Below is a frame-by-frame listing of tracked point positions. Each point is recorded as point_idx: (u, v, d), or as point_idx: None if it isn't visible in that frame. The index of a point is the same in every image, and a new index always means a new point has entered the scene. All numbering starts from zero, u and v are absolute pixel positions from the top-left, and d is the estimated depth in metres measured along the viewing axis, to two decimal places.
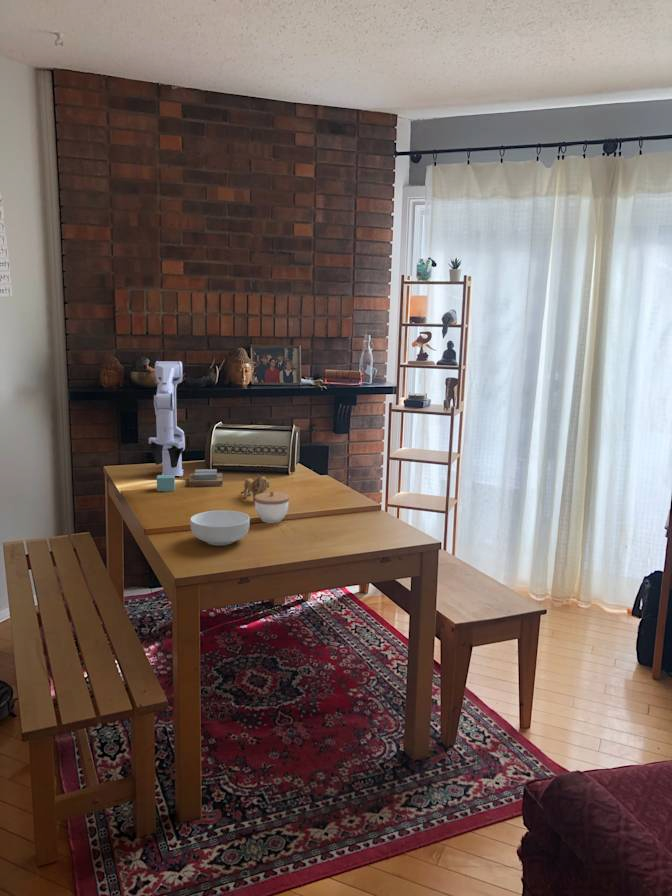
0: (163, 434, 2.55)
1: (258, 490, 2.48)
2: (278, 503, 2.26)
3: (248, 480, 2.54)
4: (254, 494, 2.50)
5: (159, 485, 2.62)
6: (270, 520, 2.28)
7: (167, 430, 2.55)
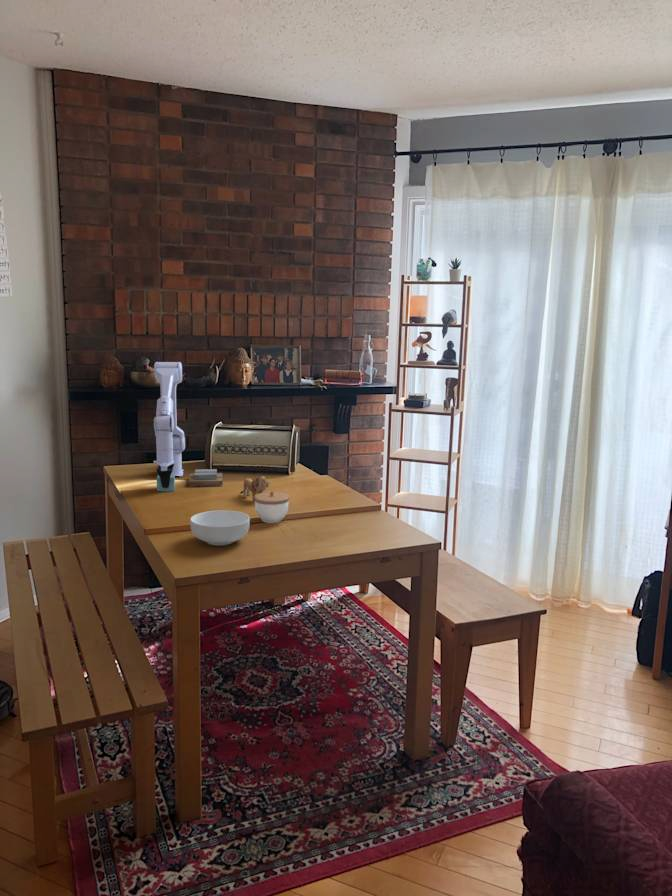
0: (157, 454, 2.60)
1: (257, 490, 2.49)
2: (278, 503, 2.26)
3: (247, 480, 2.55)
4: (253, 494, 2.50)
5: (159, 485, 2.62)
6: (270, 520, 2.28)
7: (160, 451, 2.59)
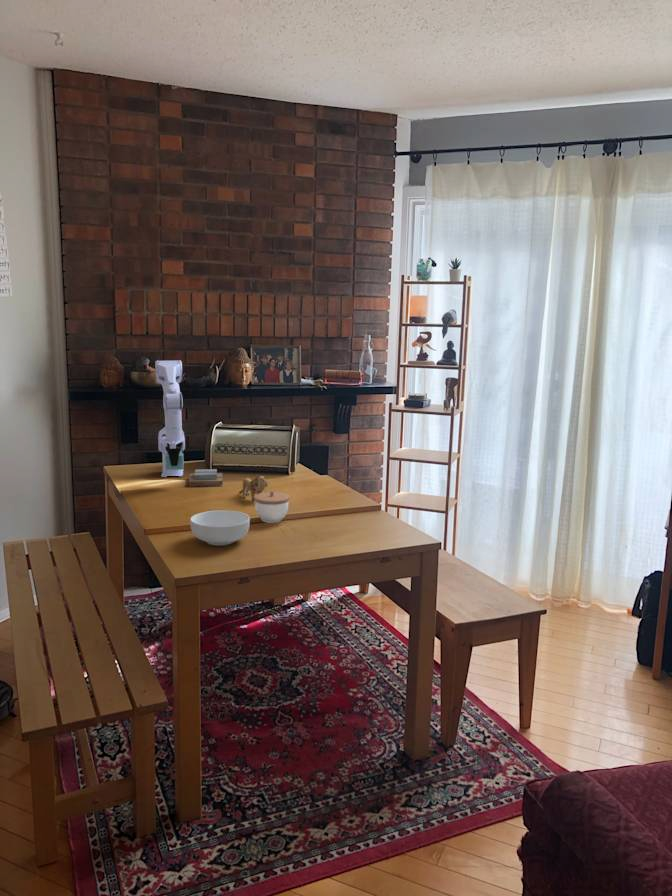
0: (166, 432, 2.61)
1: (256, 489, 2.49)
2: (278, 503, 2.26)
3: (246, 479, 2.55)
4: (252, 493, 2.51)
5: (167, 463, 2.63)
6: (270, 520, 2.28)
7: (169, 429, 2.60)
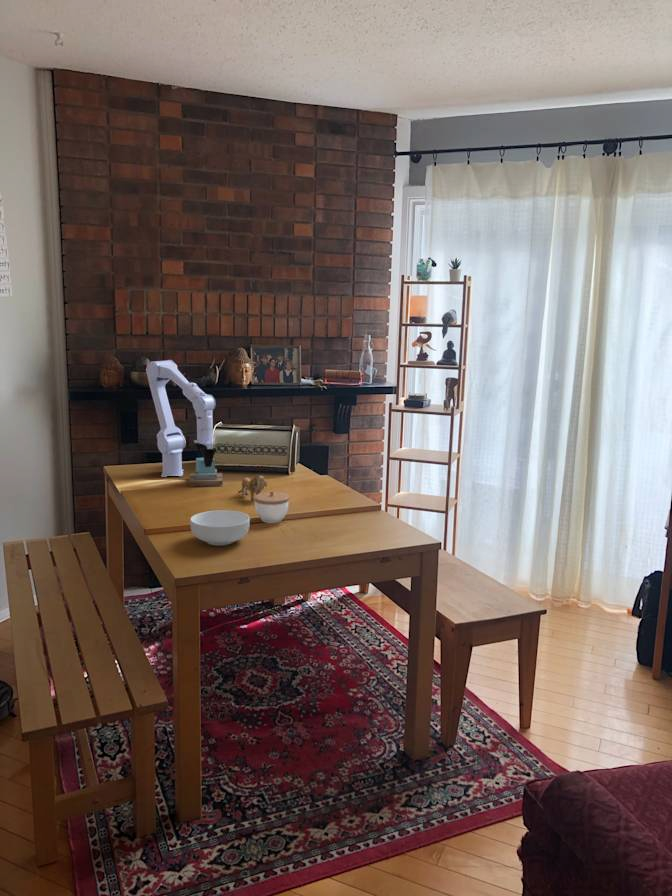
0: (199, 434, 2.69)
1: (256, 489, 2.50)
2: (278, 503, 2.26)
3: (246, 479, 2.55)
4: (252, 493, 2.51)
5: (200, 467, 2.72)
6: (270, 520, 2.28)
7: (203, 431, 2.69)
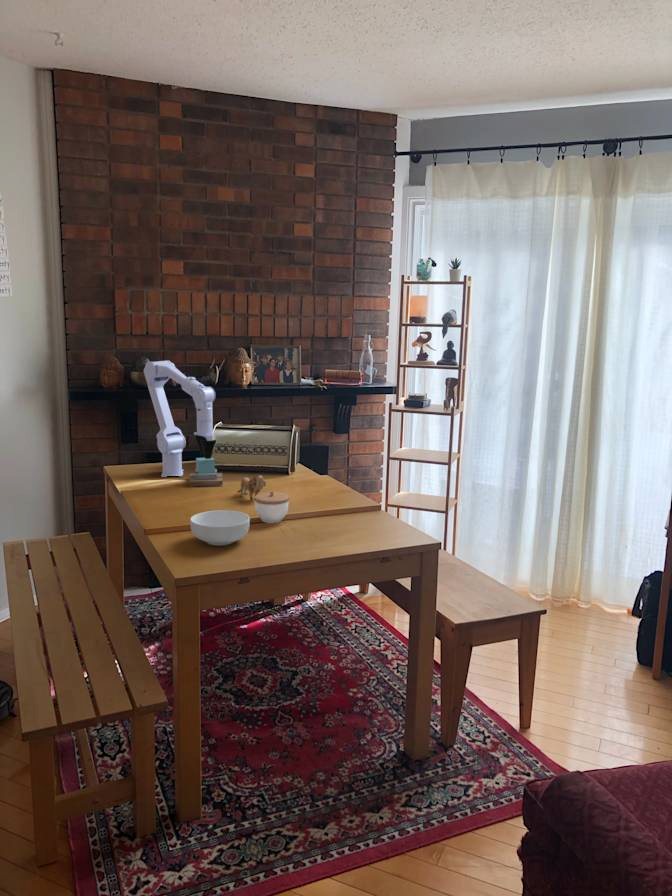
0: (199, 426, 2.69)
1: (255, 489, 2.50)
2: (278, 503, 2.26)
3: (245, 479, 2.56)
4: (251, 493, 2.52)
5: (200, 467, 2.72)
6: (270, 520, 2.28)
7: (202, 422, 2.68)
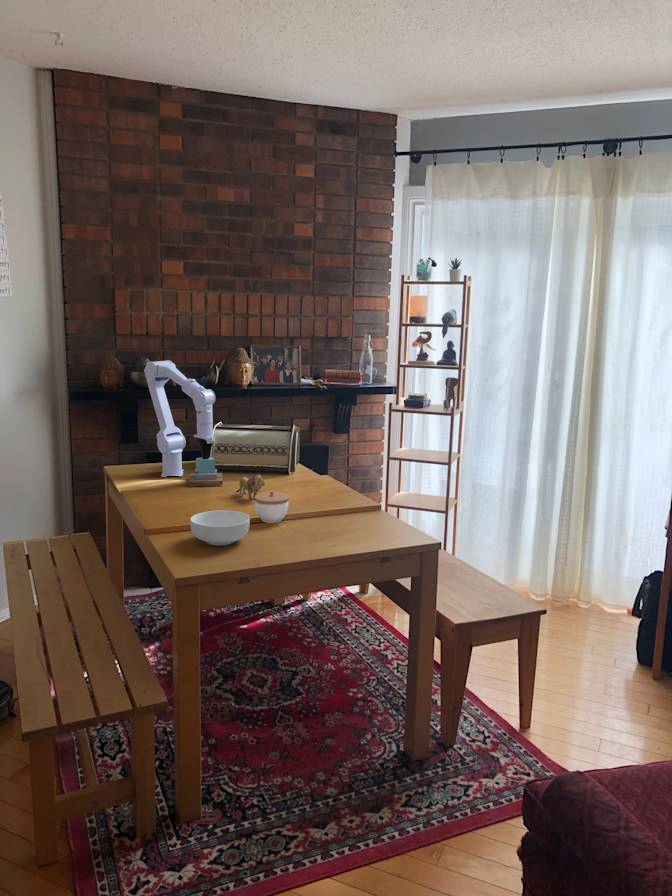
0: (199, 428, 2.69)
1: (253, 488, 2.50)
2: (278, 503, 2.26)
3: (243, 478, 2.56)
4: (249, 492, 2.52)
5: (200, 467, 2.72)
6: (270, 520, 2.28)
7: (202, 425, 2.68)
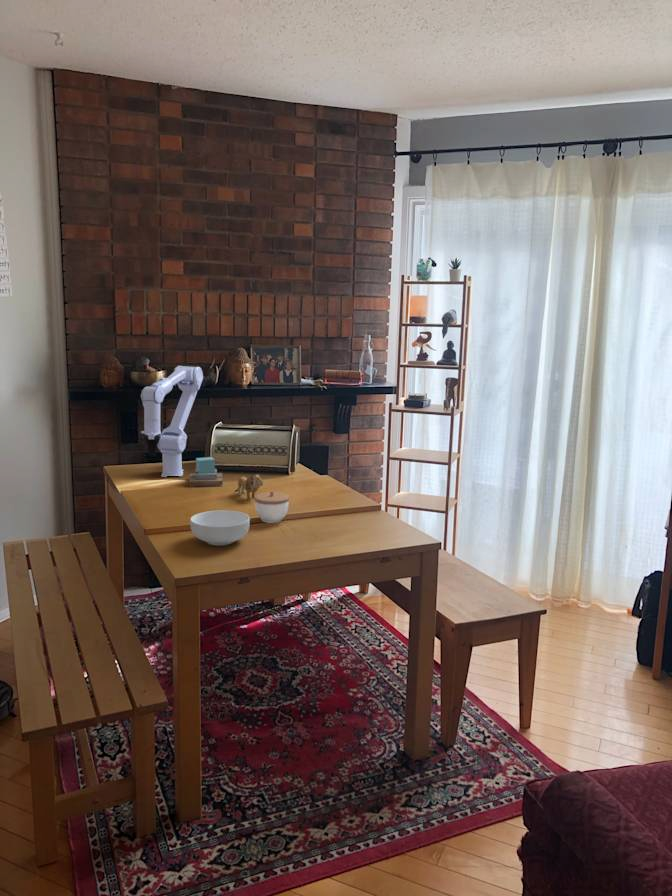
0: (145, 424, 2.69)
1: (252, 488, 2.51)
2: (278, 503, 2.26)
3: (242, 478, 2.57)
4: (248, 492, 2.53)
5: (200, 467, 2.72)
6: (270, 520, 2.28)
7: (148, 421, 2.68)
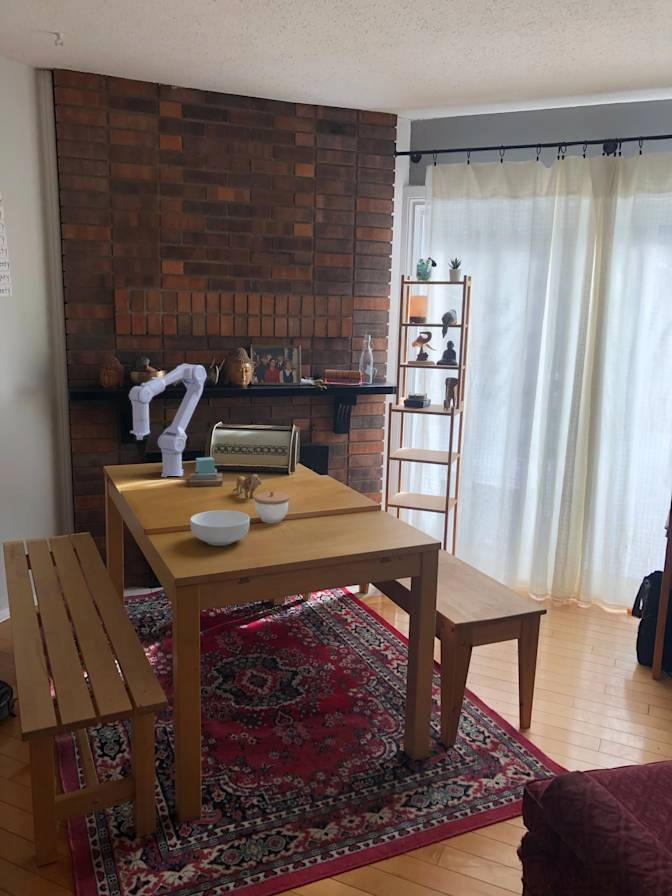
0: (134, 424, 2.69)
1: (250, 487, 2.52)
2: (278, 503, 2.26)
3: (240, 478, 2.57)
4: (246, 491, 2.53)
5: (200, 467, 2.72)
6: (270, 520, 2.28)
7: (136, 421, 2.69)
